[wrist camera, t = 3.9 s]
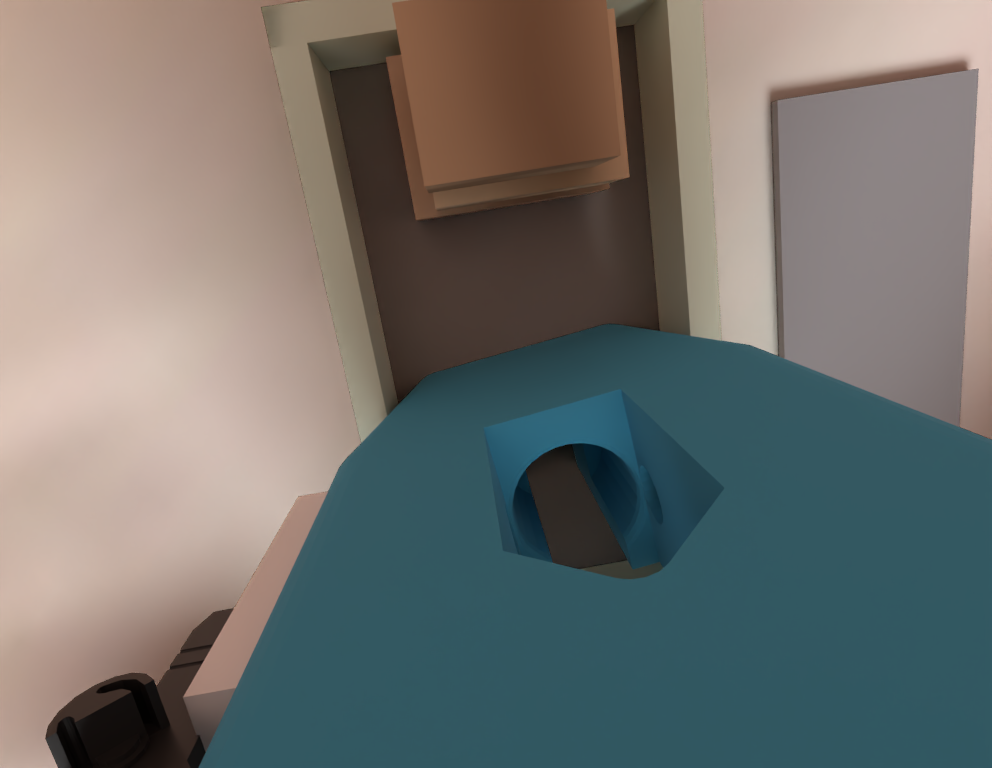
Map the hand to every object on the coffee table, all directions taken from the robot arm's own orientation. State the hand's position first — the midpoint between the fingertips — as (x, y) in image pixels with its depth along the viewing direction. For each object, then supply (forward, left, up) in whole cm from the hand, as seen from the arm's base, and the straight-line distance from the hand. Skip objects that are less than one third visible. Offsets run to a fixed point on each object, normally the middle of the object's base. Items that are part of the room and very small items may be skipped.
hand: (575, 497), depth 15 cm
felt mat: (+13, +2, -8) cm, 15 cm away
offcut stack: (0, +10, -8) cm, 12 cm away
